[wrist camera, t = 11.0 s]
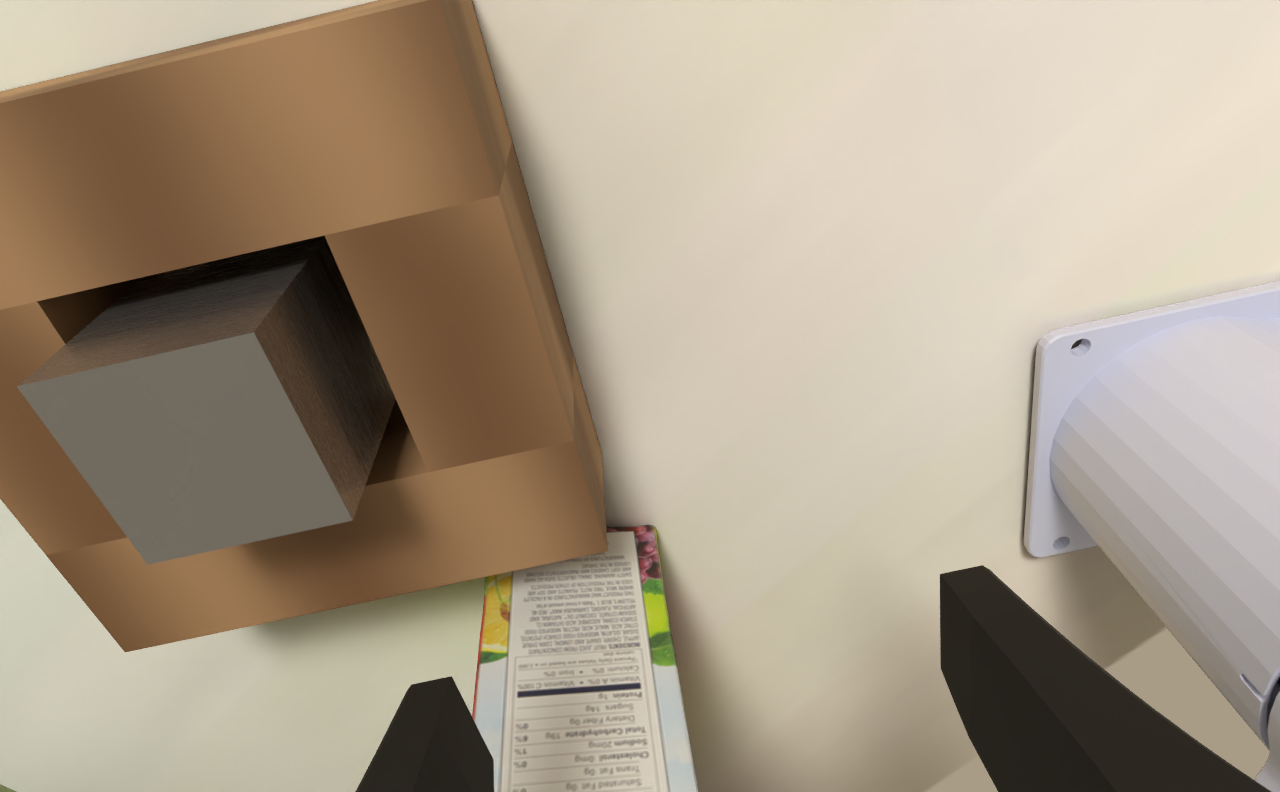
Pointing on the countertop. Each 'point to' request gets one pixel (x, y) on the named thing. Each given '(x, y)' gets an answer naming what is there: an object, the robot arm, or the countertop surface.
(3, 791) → the grocery bag
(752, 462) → the countertop surface
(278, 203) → the socket block
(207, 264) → the square bit
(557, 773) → the snack box
